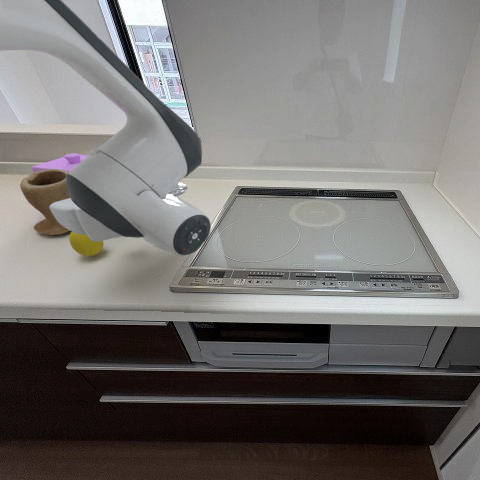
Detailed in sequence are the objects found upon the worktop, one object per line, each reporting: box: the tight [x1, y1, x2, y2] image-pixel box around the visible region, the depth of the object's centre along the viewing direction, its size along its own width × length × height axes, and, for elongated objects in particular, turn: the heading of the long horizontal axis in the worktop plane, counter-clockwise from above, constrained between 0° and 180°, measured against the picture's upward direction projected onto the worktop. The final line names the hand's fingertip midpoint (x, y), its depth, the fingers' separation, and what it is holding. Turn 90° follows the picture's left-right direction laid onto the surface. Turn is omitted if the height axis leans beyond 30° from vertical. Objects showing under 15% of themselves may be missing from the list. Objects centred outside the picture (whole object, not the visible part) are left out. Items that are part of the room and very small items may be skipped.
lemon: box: [68, 231, 104, 257], centre depth 60 cm, size 6×6×8 cm
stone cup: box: [19, 169, 71, 236], centre depth 69 cm, size 15×12×15 cm
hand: (104, 187), depth 54 cm, fingers closed on sponge wand, 3 cm apart
